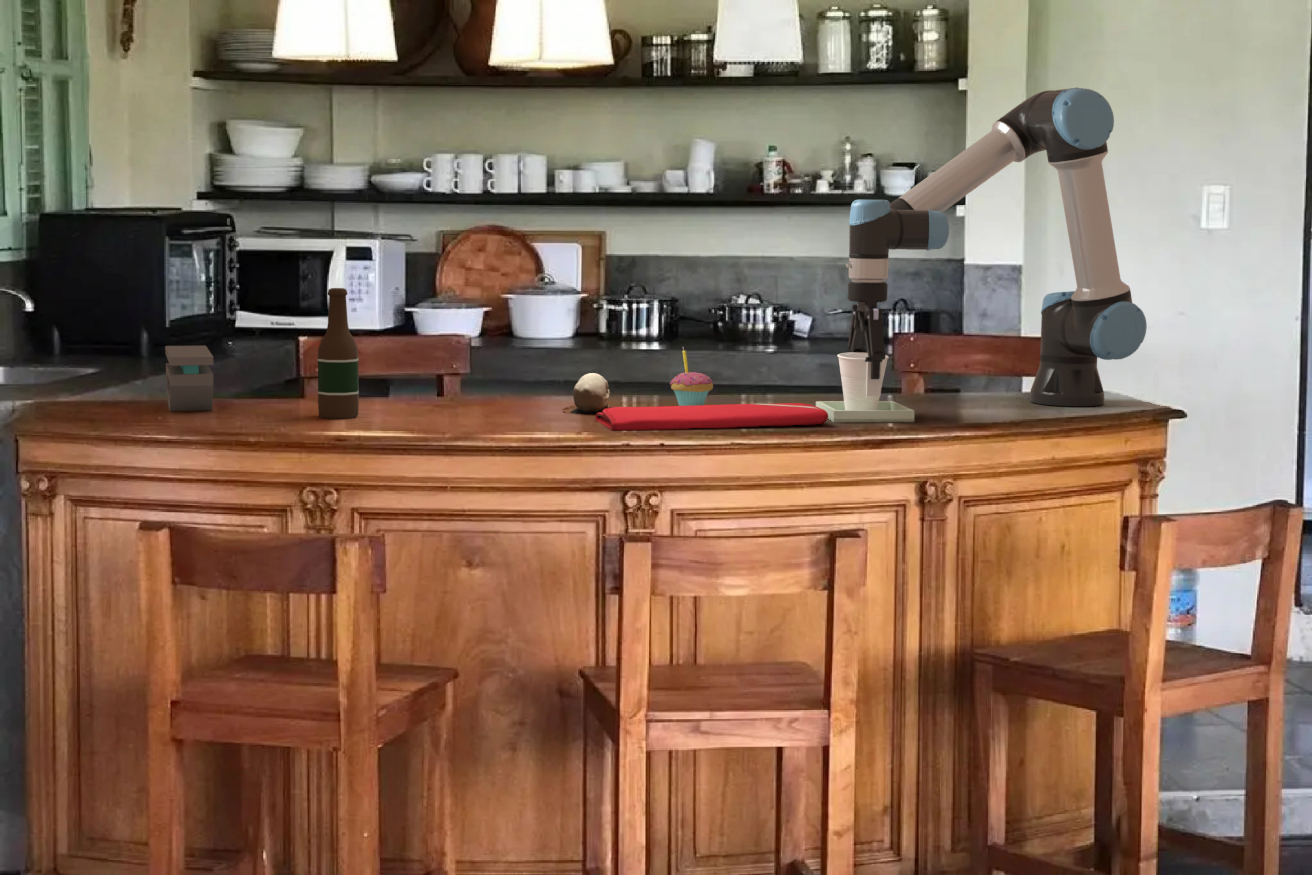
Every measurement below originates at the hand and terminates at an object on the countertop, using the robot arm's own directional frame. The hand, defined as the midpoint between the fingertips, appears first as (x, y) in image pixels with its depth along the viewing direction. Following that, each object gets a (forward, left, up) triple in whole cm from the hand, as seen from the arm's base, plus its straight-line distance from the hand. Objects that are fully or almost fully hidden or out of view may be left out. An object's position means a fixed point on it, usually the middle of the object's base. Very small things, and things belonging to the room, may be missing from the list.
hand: (864, 392), depth 358 cm
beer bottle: (+100, -3, -5) cm, 100 cm away
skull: (+51, -10, -5) cm, 53 cm away
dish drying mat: (+31, +9, -5) cm, 33 cm away
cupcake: (+31, -17, -5) cm, 36 cm away
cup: (0, -2, -4) cm, 5 cm away
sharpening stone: (+129, -19, -5) cm, 130 cm away
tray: (0, 0, -5) cm, 5 cm away
